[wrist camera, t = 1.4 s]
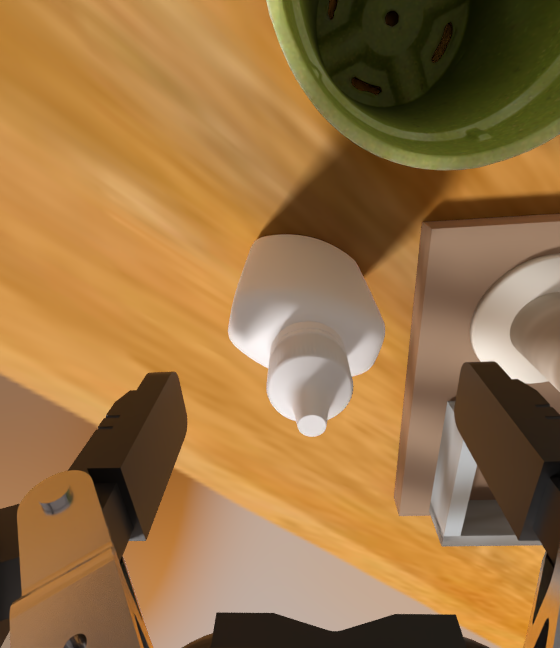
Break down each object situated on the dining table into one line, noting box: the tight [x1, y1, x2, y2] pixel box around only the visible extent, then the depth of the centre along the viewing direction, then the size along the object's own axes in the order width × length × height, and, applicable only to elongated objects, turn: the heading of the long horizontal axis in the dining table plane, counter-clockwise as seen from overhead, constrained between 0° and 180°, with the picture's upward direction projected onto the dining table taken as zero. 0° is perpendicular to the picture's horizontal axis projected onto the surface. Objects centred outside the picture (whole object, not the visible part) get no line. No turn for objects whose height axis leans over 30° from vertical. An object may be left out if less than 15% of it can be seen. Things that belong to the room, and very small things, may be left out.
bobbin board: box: [394, 214, 560, 546], centre depth 19 cm, size 20×12×10 cm, turn 4°
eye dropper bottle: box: [228, 234, 385, 437], centre depth 15 cm, size 4×6×12 cm
